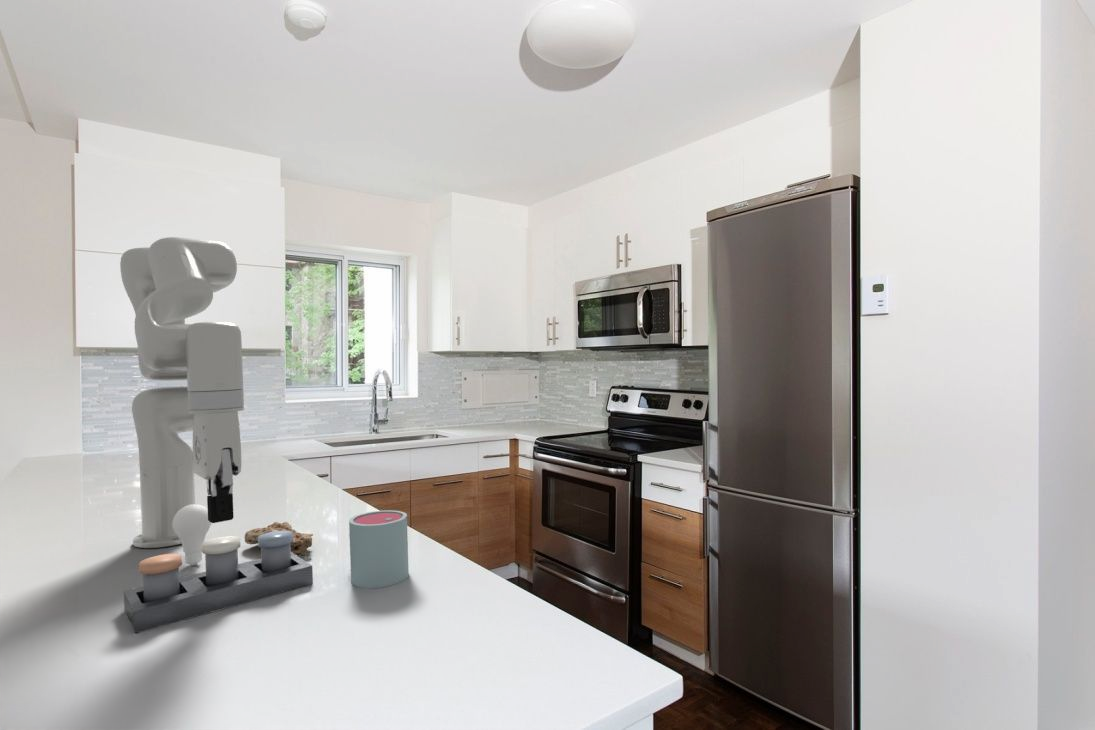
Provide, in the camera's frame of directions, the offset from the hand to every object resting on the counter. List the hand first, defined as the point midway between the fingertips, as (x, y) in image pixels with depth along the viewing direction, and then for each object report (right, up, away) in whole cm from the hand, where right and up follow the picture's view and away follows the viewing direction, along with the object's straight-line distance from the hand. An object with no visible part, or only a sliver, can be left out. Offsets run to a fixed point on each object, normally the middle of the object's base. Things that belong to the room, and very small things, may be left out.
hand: (220, 520), depth 92 cm
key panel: (0, -12, 0) cm, 12 cm away
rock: (0, -12, +24) cm, 27 cm away
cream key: (0, -10, 0) cm, 10 cm away
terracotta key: (-6, -11, -5) cm, 13 cm away
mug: (+21, -12, +9) cm, 25 cm away
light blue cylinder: (+6, -10, +6) cm, 13 cm away
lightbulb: (-13, -12, +15) cm, 24 cm away
